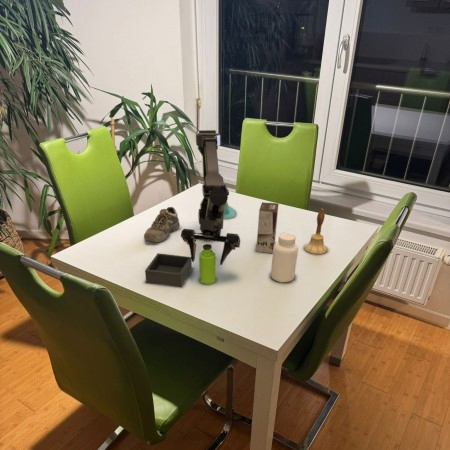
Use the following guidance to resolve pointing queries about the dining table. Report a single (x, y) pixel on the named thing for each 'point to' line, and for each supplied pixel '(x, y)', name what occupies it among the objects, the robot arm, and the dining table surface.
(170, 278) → the tote
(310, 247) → the hand bell
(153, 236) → the hiking shoe
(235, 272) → the dining table surface
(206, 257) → the green bottle
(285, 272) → the pill bottle
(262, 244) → the coffee box
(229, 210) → the teal witch hat
